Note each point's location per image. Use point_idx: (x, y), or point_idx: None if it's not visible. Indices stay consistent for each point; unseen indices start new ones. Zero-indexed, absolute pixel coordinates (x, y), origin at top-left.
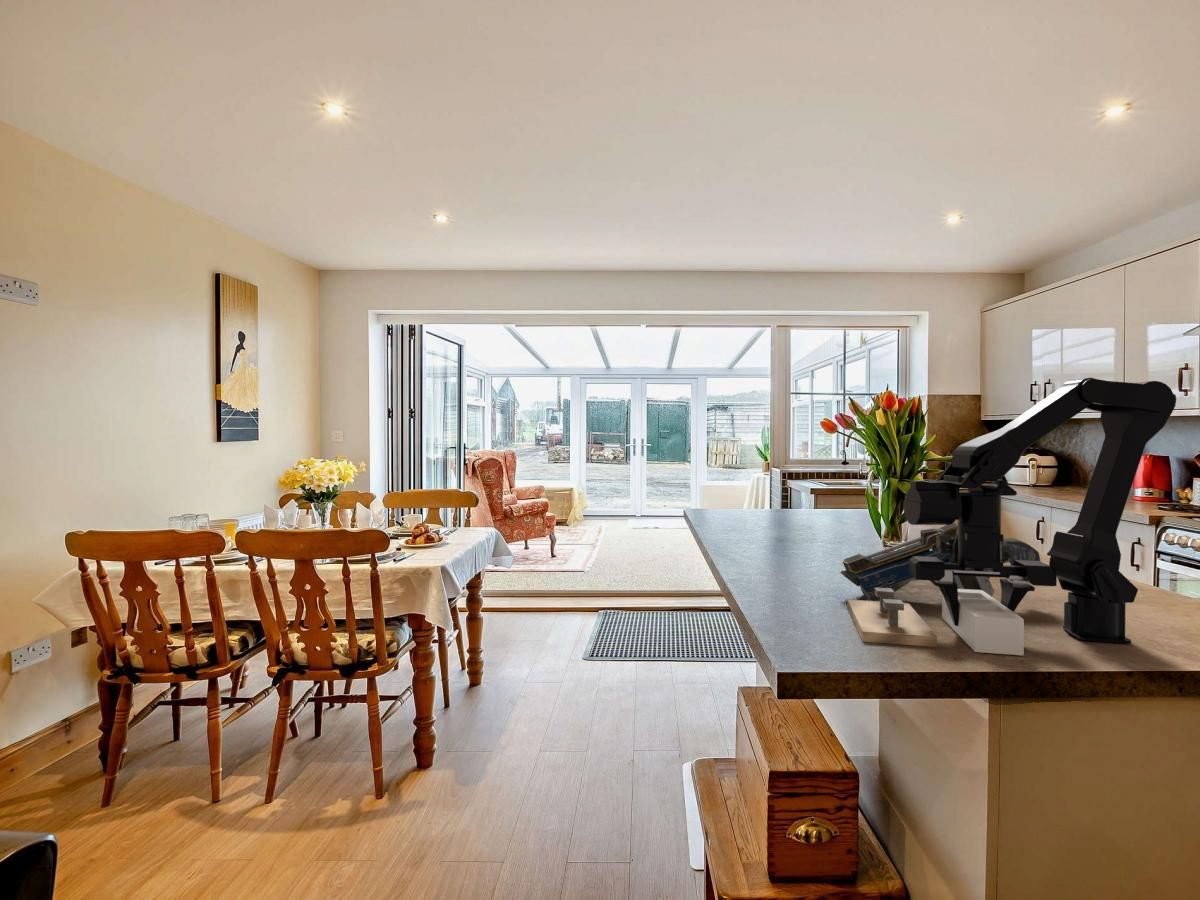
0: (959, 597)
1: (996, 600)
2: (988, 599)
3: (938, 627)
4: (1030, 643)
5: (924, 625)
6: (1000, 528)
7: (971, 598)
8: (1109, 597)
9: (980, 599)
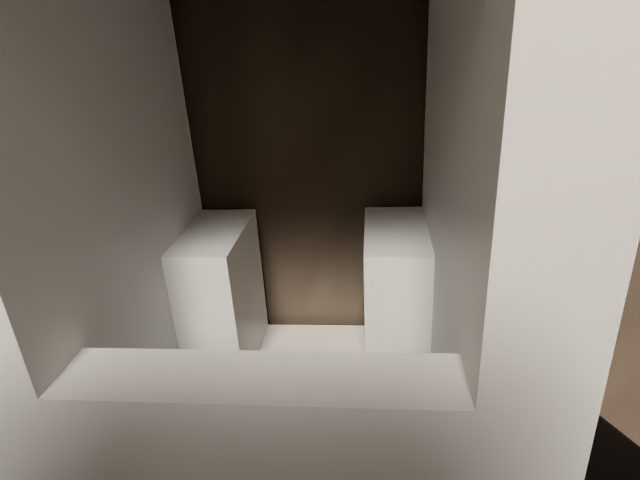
0: (33, 397)
1: (576, 475)
2: (468, 431)
3: None
4: (618, 407)
5: None
6: None
7: (207, 415)
8: None
9: (332, 454)
